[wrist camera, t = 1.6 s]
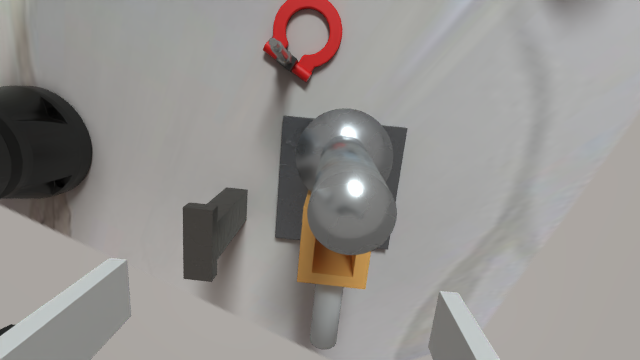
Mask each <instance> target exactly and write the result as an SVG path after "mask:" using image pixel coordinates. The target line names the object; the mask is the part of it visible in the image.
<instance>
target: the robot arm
mask: <svg viewBox="0 0 640 360" xmlns="http://www.w3.org/2000/svg"><path fill="white" fill-rule="evenodd" d="M91 157H92V147H91V141H90V137H89V133H88V131H87V128H86V126H85V124H84V122H83V120H82V119H81V117H80V116H79V114H78V113H77V112H76V111H75V109H74V108H73V107H72V106H71V105H70V104H69V103H68V102H66V101H65V100H64V99H63V98H61V97H60V96H58V95H56V94H55V93H53V92H51V91H48V90H46V89H43V88H39V87H34V86H3V87H0V199H1V198H47V197H52V196H55V195H58V194H61V193H63V192H66V191H69V190H71V189H73V188H74V187H76V186H77V185H78V184H79V183H80V182H81V181H82V180H83V179H84V177H85V176H86V174H87V172H88V170H89V167H90V163H91ZM130 317H131V307H130V292H129V278H128V264H127V260H126V259H116V258H109V259H107V260H106V261H104V262H103V263H102V264H100V265H99V266H98V267H96V268H95V269H93V270H92V271H90V272H89V273H88V274H86V275H85V276H83V277H82V278H81V279H79V280H78V281H77V282H75V283H74V284H72V285H71V286H70V287H68V288H67V289H65V290H64V291H63V292H61V293H60V294H58V295H57V296H55V297H54V298H53V299H51V300H50V301H49V302H47V303H46V304H44V305H43V306H42V307H40V308H39V309H37V310H36V311H35V312H33V313H32V314H30V315H29V316H28V317H26V318H25V319H23V320H22V321H21V322H19V323H18V324H16V325H12V324H11V325H9V326H7V327H5V328H3V329H1V330H0V360H91V359H92V357H93V356H94V355H95V354H96V353H97V352H98V351H99V350H100V349H101V348H102V346H104V345H105V343H106V342H107V341H108V340H109V339H110V338H111V337H112V336H113V335H114V334H115V333H116V331H118V330H119V328H120V327H121V326H122V325H123V324H124V323H125V322H126V321H127V320H128V319H129V318H130ZM428 347H429V350H430V353H431V355H432V358H433V360H500V359H499V357H498V356H497V354H496V352H495V351H494V349H493V348H492V346H491V344H490V343H489V341H488V340H487V338H486V336H485V335H484V333H483V332H482V330H481V328H480V327H479V325H478V324H477V322H476V320H475V319H474V317H473V316H472V314H471V312H470V311H469V309H468V308H467V306H466V305H465V303H464V301H463V300H462V298H461V297H460V295H459V293H456V292H446V291H439V296H438V301H437V306H436V311H435V316H434V321H433V326H432V331H431V336H430V341H429V346H428Z"/></svg>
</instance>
